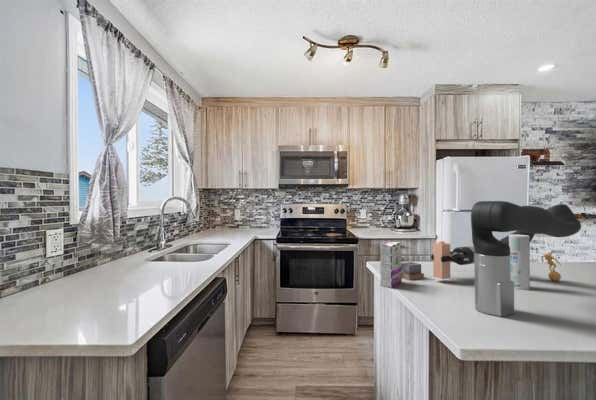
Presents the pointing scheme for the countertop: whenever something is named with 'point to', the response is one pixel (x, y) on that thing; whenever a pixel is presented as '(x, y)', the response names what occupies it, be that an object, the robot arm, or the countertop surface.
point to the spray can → (520, 261)
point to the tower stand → (411, 271)
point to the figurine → (553, 274)
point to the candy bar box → (390, 264)
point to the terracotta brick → (439, 267)
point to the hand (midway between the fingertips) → (436, 258)
